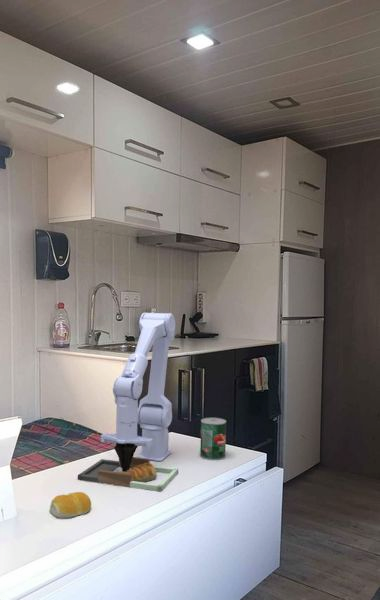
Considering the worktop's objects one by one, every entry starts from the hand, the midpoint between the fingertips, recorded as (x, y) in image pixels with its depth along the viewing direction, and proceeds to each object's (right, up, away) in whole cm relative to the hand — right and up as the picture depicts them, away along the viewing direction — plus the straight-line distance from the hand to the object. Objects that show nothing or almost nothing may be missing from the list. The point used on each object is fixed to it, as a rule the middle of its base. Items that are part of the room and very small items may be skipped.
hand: (125, 470), depth 135 cm
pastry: (+4, -2, -2) cm, 5 cm away
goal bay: (+8, -2, -2) cm, 9 cm away
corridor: (0, -1, 0) cm, 1 cm away
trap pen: (-7, -1, +2) cm, 8 cm away
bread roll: (-10, -2, -22) cm, 24 cm away
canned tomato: (+25, -2, +19) cm, 31 cm away
